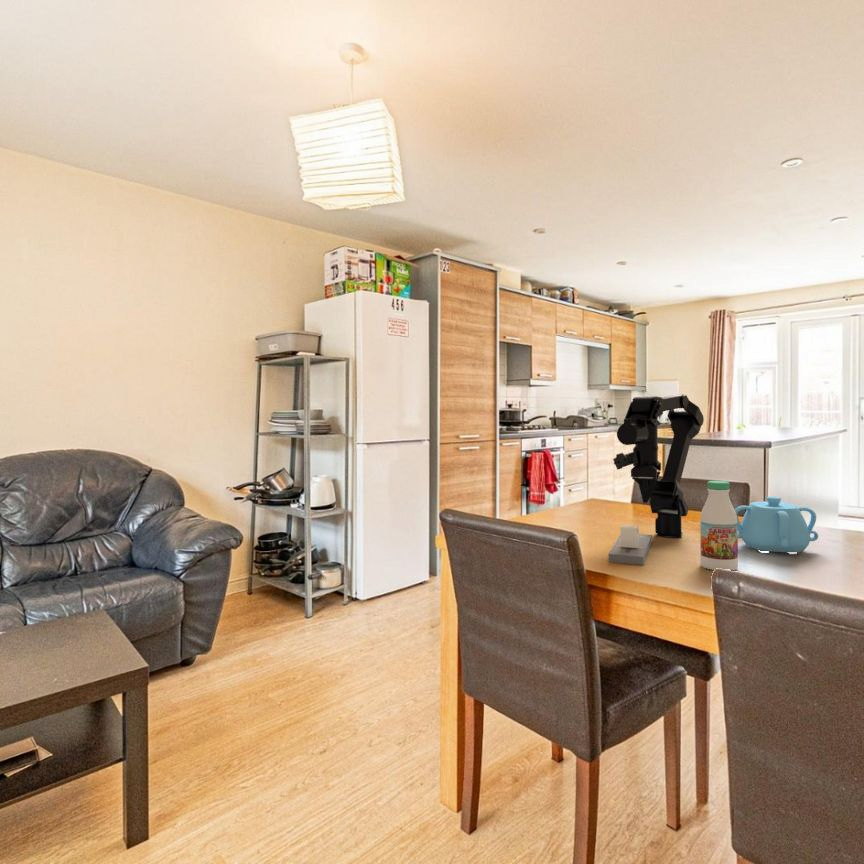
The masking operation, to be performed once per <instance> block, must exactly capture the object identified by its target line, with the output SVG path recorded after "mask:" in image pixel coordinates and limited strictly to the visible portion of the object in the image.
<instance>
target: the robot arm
mask: <svg viewBox="0 0 864 864" xmlns="http://www.w3.org/2000/svg"><path fill="white" fill-rule="evenodd" d="M678 409H679V410H678ZM680 409H683V410H680ZM675 410H676V411H675ZM667 411H668V412H667ZM664 412H667V419H668V420H669V422H670V428H671V431H672V432H673V437H672V439H671V440H672V441H671V444H670V449H669V452H668V456H667V459H666V463H665V466H664V471H663V475H662V477H661V479H659V477H660V475H661V470H662V463H661V462H660V460H659V454H658V453H659V452H658V451H659V441H658V440H659V439H658V426H660V425H661V422H660V421H659V420H658V419H659V417H661V416H662V415H663V414H664ZM704 419H705V418H704V415H703V413H702V411H701V409H700V407H699V406H698V405H696V404H695V403H694V402H692V401H690V399H689V397H688V396H687V395H685V394H670V395H668V396H667V395H666V396H662V397H661V396H657V395H656V396H655V395H653V396H635V397H633V398H632V401H630V403H629V406H628V409H627V411H626V414H625V417H624V419H623V423H622V424H621V425H620V426H619V427H618V428H617V431H616V437H617V440H618V441H619V443H621V444H622V445H624V446H633V445H635V446H634V447H632V451H631V452H628V453H624V452H619V453H617V454H616V455H615V457H614V458H613V459H612V460H613V464H614V465H615V467H616V470H621V469H623V468H625V467H627V466H628V467H629V466H631V465H632V466H633V467H631V469H630V477H631V478H632V480H633V481H635V482H636V483H637V484H638V487H639V492H640V495H641V500H642V503H645V504H648V502H649V506H650V510H651V514H657V516H656V517H655V519H654V520H655V522H654V525H655V526H654V527H655V529H654V531H655V533H656V537H662V538H663V537H664V538H677V539H682V537H683V531H682V528H683V527H682V525H683V524H682V517H687V516H688V513H689V506H688V504H687V502H686V500H685V499H684V491H683V489H682V486H681V480H682V476H683V472H684V468H685V464H686V461H687V456H688V452H689V450H690V445H691V441H692V440H693V439H694V438H695V437H696V436H697V435H698V434H699V433H700V431H701V428H702V426H703V424H704ZM658 479H659V480H658Z"/></svg>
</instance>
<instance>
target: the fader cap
mask: <svg viewBox="0 0 864 864" xmlns="http://www.w3.org/2000/svg"><path fill="white" fill-rule="evenodd" d="M619 528H620V529H619V530H620V534H619V536H620V538H621V547H628V548H638V546H639V534H640V533H639V525H630V524H629V525H627V524H622V525H620V527H619Z"/></svg>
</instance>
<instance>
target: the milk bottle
mask: <svg viewBox="0 0 864 864" xmlns="http://www.w3.org/2000/svg"><path fill="white" fill-rule="evenodd" d="M706 485H707V492H708V495H707V498H706V501H705V503H704V505H703V507H702V510H701V513H700V521H699V532H700V534H699V544H700V545H699V548H700V549H699V555H700V556H699V558H700V560H699V561H700V562H699V563H700V565H701V567H702V568H704V569H706V568H707V569H706V570H709V569H710V571H714V569H716V568H722V569H730V570H734V571H736V570H738V567H739V538H738V533H739V531H738V525H737V516H736V512H735V508H734V506H733V504H732V502H731V498H730V495H729V493H730V488H731V484H730V482H729V481H725V480H708V481H707V484H706ZM711 569H712V570H711Z"/></svg>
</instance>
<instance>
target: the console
mask: <svg viewBox="0 0 864 864" xmlns="http://www.w3.org/2000/svg"><path fill="white" fill-rule="evenodd" d="M652 543H653V535H652V534H643V533H639V546H638V548H628V547H621V538H620V535H619V536H618V538H617V539H616V541H615V542H614V544H613V546H612V547H611V548H610V550H609V552H608V555H607V557H608V562H609V563H615V564H617V563H619V564H626V563H627V564H628V565H638V566H639V565H640V566H645V563H646V560H647V557H648V554H649V552H650V548H651V545H652ZM627 564H626V565H627Z"/></svg>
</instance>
